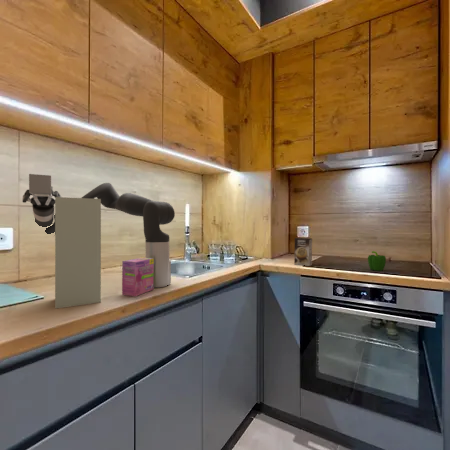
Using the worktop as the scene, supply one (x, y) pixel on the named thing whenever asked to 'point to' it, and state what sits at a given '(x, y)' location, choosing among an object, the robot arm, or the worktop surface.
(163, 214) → the robot arm
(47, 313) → the worktop surface
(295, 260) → the coffee box
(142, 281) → the box
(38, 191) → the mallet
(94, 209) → the stand
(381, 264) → the bell pepper
